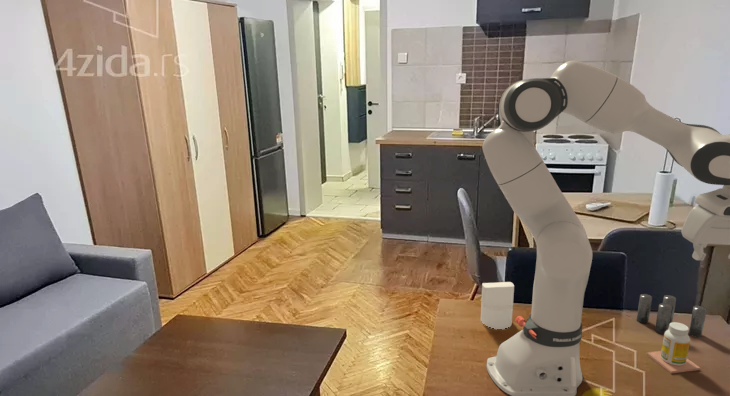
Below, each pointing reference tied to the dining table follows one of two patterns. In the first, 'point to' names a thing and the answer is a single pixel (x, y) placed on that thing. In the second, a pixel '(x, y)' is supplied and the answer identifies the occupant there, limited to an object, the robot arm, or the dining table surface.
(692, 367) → the terracotta tile
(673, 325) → the supplement bottle
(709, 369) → the dining table surface
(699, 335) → the posts
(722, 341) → the dining table surface
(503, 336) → the dining table surface
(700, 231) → the robot arm
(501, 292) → the cylinder with rectangular tab
